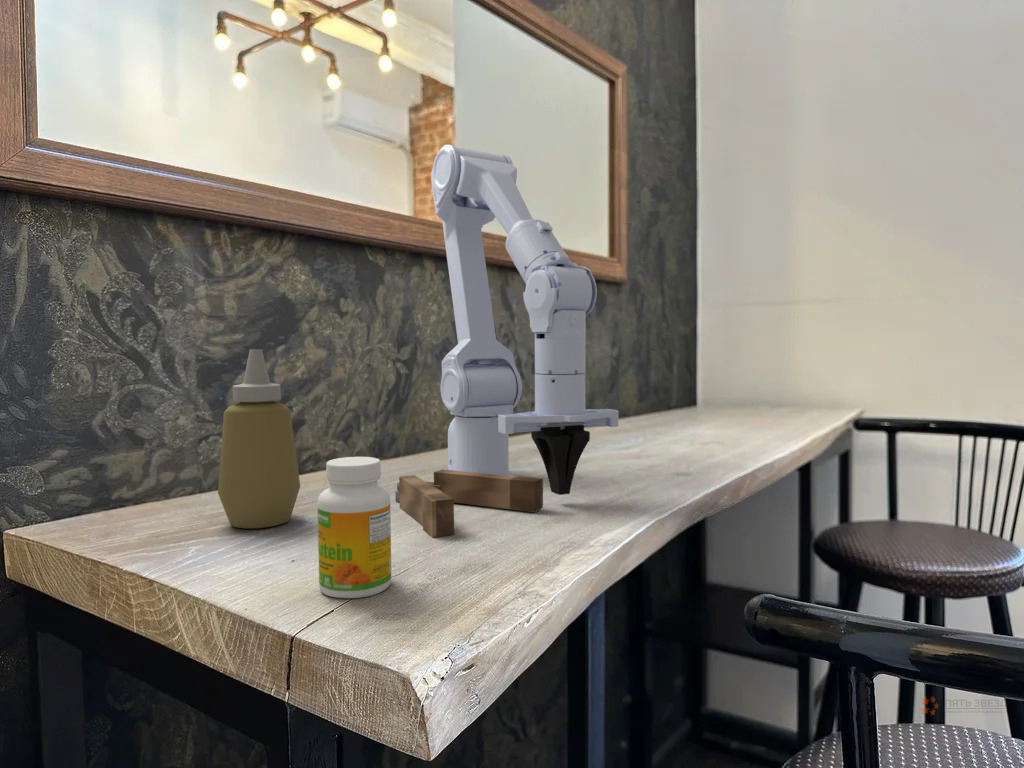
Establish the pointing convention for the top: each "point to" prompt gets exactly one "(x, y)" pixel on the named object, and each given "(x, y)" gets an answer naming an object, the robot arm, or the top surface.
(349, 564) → the supplement bottle
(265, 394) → the squeeze bottle
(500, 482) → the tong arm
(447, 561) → the top surface
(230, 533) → the top surface
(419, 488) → the brown wooden block
